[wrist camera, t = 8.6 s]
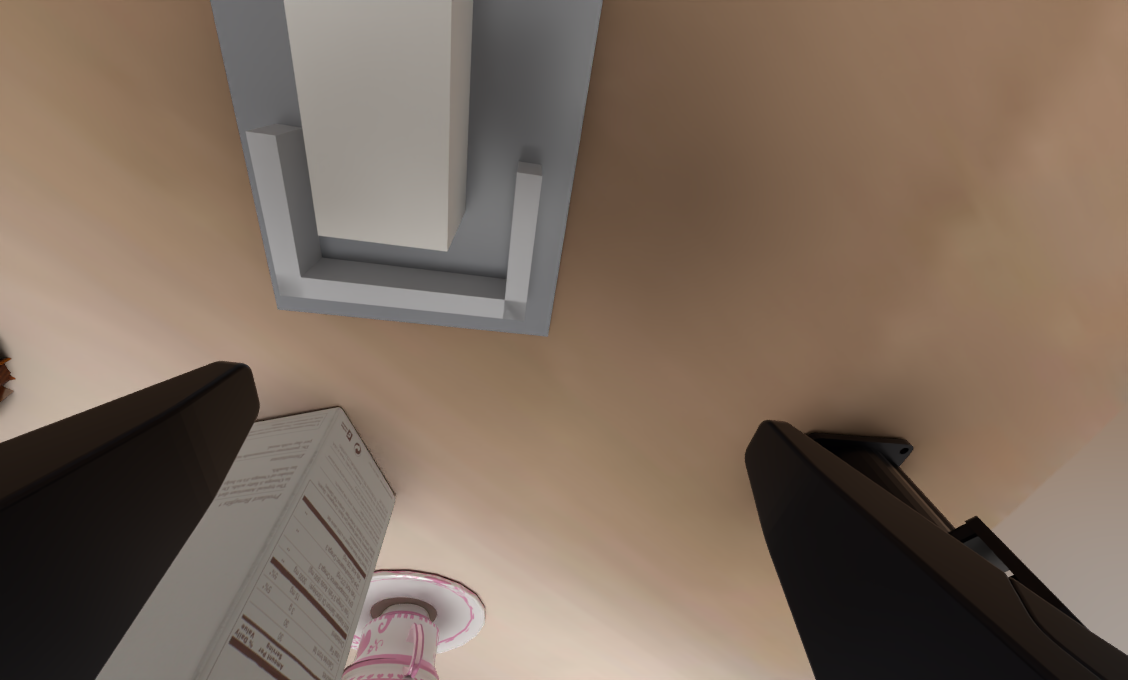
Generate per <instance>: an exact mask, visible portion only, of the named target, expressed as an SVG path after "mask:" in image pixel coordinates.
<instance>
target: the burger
mask: <svg viewBox="0 0 1128 680" xmlns="http://www.w3.org/2000/svg"><path fill="white" fill-rule="evenodd" d="M10 359H11V358H5V359H0V402H1V401H2V400H4V399H5V398H6V397H7V396H9V395H10V394H11V393H12V392H14V391H13V390H10V389H8V388H5V387H3V386H2V385H3V384H5V383H6V382H7V381H9V380H13V379H15V378H14V377H12V376H11V375H10V373H11V372H10V371H9V370H8V369H7V367H6V365H5V364H4V363H5V362H7V361H9V360H10Z"/></svg>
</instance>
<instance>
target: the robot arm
mask: <svg viewBox="0 0 1128 680" xmlns="http://www.w3.org/2000/svg"><path fill="white" fill-rule="evenodd" d="M259 408H260V403H259V398H258V394H257V390H256V386H255V382H254V378H253V374H252V371H251V369H250V367H249V366H248V365H246V364H244V363H236V362H227V361H217V362H214V363H211V364H208V365H206V366H203V367H200V368H198V369H195V370H192V371H190V372H187V373H184V374H182V375H179V376H177V377H174V378H171V379H169V380H166V381H163V382H161V383H158V384H155V385H153V386H150V387H147V388H145V389H142V390H139V391H137V392H134V393H132V394H129V395H126V396H124V397H121V398H118V399H116V400H113V401H110V402H108V403H105V404H102V405H100V406H97V407H94V408H92V409H89V410H87V411H84V412H81V413H79V414H76V415H73V416H71V417H68V418H65V419H63V420H60V421H57V422H55V423H52V424H49V425H47V426H44V427H42V428H39V429H36V430H34V431H31V432H28V433H26V434H23V435H20V436H18V437H15V438H12V439H10V440H7V441H4V442H2V443H0V680H95V679H96V678H97V676H98V675H99V673H100V672H101V670H102V669H103V667H104V666H105V664H106V663H107V661H108V660H109V658H110V657H111V655H112V654H113V652H114V651H115V649H116V647H117V646H118V644H119V643H120V641H121V640H122V638H123V637H124V635H125V634H126V632H127V631H128V629H129V628H130V626H131V625H132V623H133V622H134V620H135V619H136V617H137V616H138V614H139V613H140V611H141V610H142V608H143V607H144V605H145V604H146V602H147V601H148V599H149V598H150V596H151V595H152V593H153V592H154V590H155V589H156V587H157V586H158V584H159V583H160V581H161V580H162V578H163V577H164V575H165V573H166V572H167V570H168V569H169V567H170V566H171V564H172V563H173V561H174V560H175V558H176V557H177V555H178V554H179V552H180V551H181V549H182V548H183V546H184V545H185V543H186V542H187V540H188V539H189V537H190V536H191V534H192V533H193V531H194V530H195V528H196V527H197V525H198V524H199V522H200V521H201V519H202V518H203V516H204V515H205V513H206V511H207V510H208V508H209V507H210V505H211V503H212V502H213V500H214V498H215V497H216V495H217V493H218V491H219V490H220V488H221V486H222V484H223V482H224V480H225V478H226V476H227V474H228V472H229V470H230V469H231V467H232V465H233V463H234V461H235V459H236V457H237V455H238V453H239V451H240V449H241V447H242V445H243V443H244V442H245V440H246V438H247V436H248V434H249V432H250V430H251V428H252V426H253V424H254V422H255V420H256V418H257V416H258V413H259ZM912 450H913V446H912V445H911V444H910V443H909V442H908V441H907V440H904V439H891V438H877V437H864V436H851V435H838V434H825V433H813V434H810V435H808V436H807V435H805V434H804V433H802V432H801V431H799V430H798V429H796V428H795V427H793V426H792V425H791V424H789V423H787V422H784V421H775V420H765V421H763V422H762V423H761V424H760V425H759V427H758V429H757V431H756V433H755V434H754V436H753V438H752V440H751V442H750V444H749V445H748V447H747V449H746V453H745V464H746V468H747V472H748V476H749V480H750V484H751V488H752V492H753V496H754V500H755V504H756V508H757V511H758V515H759V519H760V523H761V527H762V531H763V534H764V537H765V541H766V544H767V547H768V550H769V553H770V555H771V558H772V561H773V564H774V566H775V569H776V572H777V575H778V577H779V580H780V583H781V586H782V588H783V591H784V594H785V597H786V599H787V602H788V605H789V608H790V610H791V613H792V616H793V619H794V621H795V624H796V627H797V630H798V632H799V635H800V638H801V641H802V643H803V646H804V649H805V652H806V654H807V657H808V660H809V663H810V665H811V668H812V671H813V674H814V676H815V679H816V680H1128V655H1126V654H1125V653H1123V652H1122V651H1120V650H1118V649H1117V648H1115V647H1114V646H1112V645H1111V644H1109V643H1107V642H1106V641H1105V640H1103V639H1101V638H1100V637H1098V636H1097V635H1095V634H1094V633H1092V632H1091V631H1090V630H1089V629H1087V627H1086V626H1085V625H1083V623H1082V622H1081V621H1080V620H1079V619H1078V618H1077V617H1076V616H1075V615H1074V614H1073V613H1072V612H1071V611H1070V610H1069V609H1068V608H1067V607H1066V606H1065V605H1064V604H1063V603H1062V602H1061V601H1060V600H1059V599H1058V598H1057V597H1056V596H1055V595H1054V594H1053V593H1052V592H1051V591H1050V590H1049V589H1048V588H1047V587H1046V586H1045V585H1044V584H1043V583H1042V582H1041V581H1040V580H1039V579H1038V577H1037V576H1036V575H1034V573H1033V572H1032V571H1031V570H1030V569H1028V567H1027V566H1026V565H1024V563H1023V562H1022V561H1021V560H1020V559H1019V558H1018V557H1017V556H1016V555H1015V554H1014V553H1013V552H1012V551H1011V550H1010V549H1009V548H1008V547H1007V546H1006V545H1005V544H1004V543H1003V542H1002V541H1001V540H1000V539H999V538H998V537H997V536H996V535H995V534H994V533H993V532H992V531H991V530H990V529H989V528H988V527H987V526H986V525H985V524H984V523H983V522H982V521H981V520H980V519H979V518H978V517H977V516H974V517H972V518H970V519H968V520H966V521H965V522H966V524H964V525H962V526H960V527H958V528H956V529H955V528H954V527H953V525H952V524H951V523H950V522H949V521H948V520H947V519H946V518H945V517H944V516H943V514H942V513H941V512H940V511H939V510H938V509H937V508H936V507H935V506H934V505H933V503H932V502H931V501H930V500H929V499H928V498H927V497H926V496H925V495H924V494H923V492H922V491H921V490H920V489H919V488H918V487H917V486H916V485H915V484H914V483H913V481H912V480H911V479H910V478H909V477H908V476H907V475H906V474H905V473H904V472H903V470H902V469H901V468H900V467H899V466H900V465H901V464H902V463H903V462H904V460H905V459H906V458H907V457H908V456H909V454H910V453H911V452H912ZM1008 570H1010V571H1011V572H1012V573H1013V574H1014V575H1013V576H1010V577H1007V575H1006V574H1005V573H1004V572H1006V571H1008Z"/></svg>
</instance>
